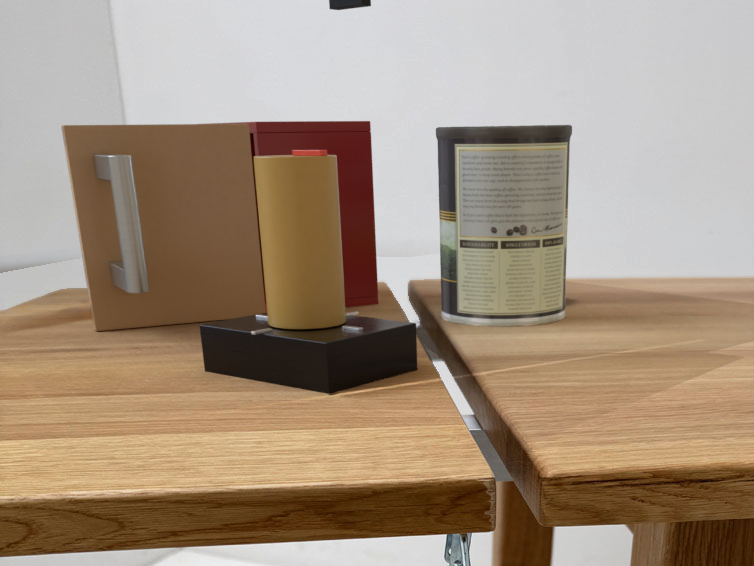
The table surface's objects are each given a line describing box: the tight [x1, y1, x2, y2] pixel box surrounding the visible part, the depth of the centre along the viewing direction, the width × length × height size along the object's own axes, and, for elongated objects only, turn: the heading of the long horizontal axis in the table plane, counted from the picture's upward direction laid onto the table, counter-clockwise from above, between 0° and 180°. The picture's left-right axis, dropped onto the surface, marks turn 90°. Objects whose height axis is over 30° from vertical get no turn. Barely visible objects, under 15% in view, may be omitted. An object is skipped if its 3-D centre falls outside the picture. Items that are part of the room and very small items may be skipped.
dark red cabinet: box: [208, 120, 379, 313], centre depth 89 cm, size 10×14×15 cm
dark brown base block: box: [199, 310, 418, 396], centre depth 64 cm, size 11×9×3 cm
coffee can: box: [435, 124, 573, 328], centre depth 80 cm, size 10×10×14 cm
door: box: [60, 123, 266, 332], centre depth 76 cm, size 7×14×14 cm, turn 118°
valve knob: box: [254, 150, 347, 329], centre depth 61 cm, size 5×5×10 cm
